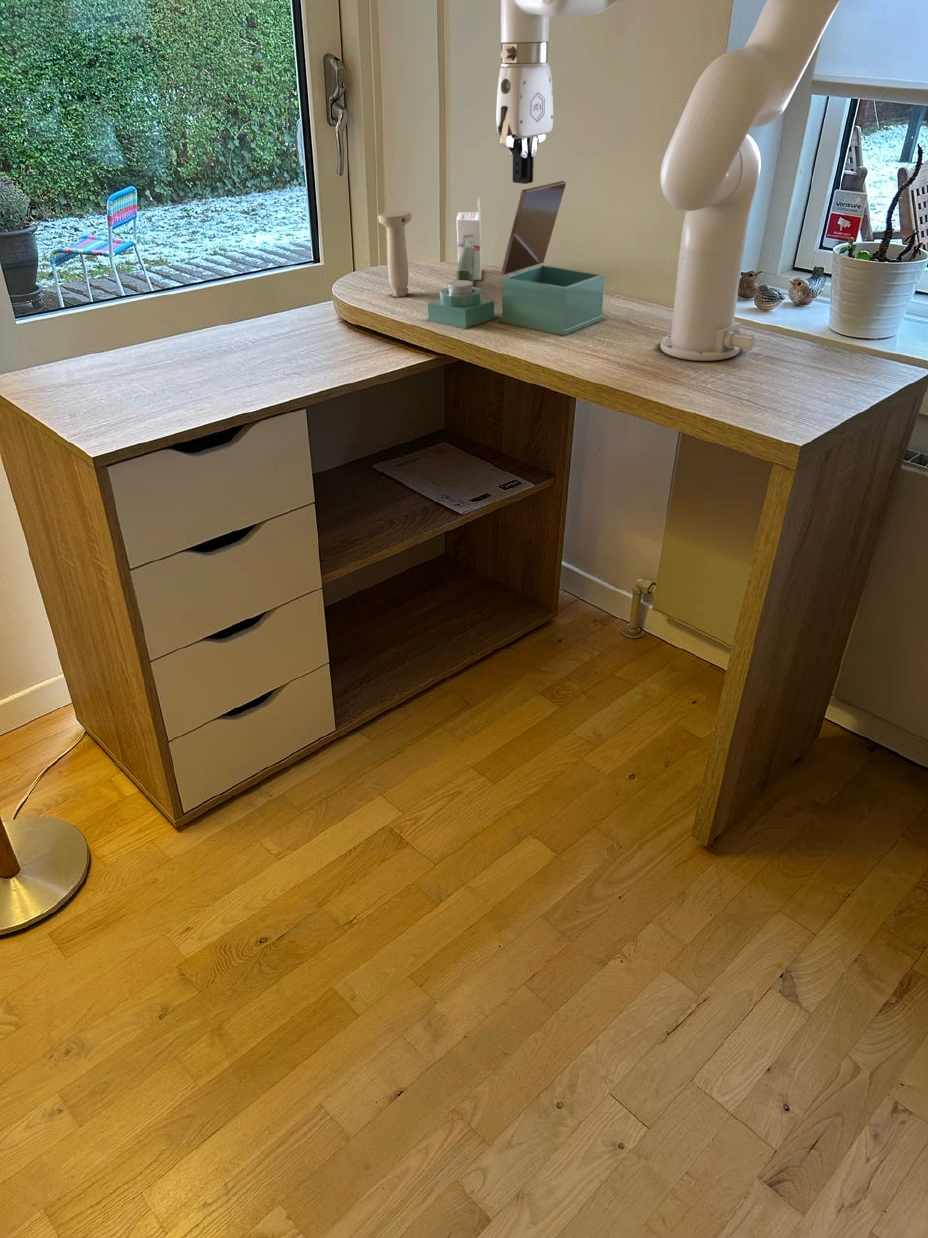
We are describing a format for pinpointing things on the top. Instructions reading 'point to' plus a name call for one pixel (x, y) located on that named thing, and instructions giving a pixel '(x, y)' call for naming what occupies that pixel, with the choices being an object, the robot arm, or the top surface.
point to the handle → (397, 250)
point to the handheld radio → (466, 265)
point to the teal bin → (552, 299)
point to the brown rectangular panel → (532, 226)
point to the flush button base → (461, 309)
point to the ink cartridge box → (470, 236)
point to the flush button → (460, 287)
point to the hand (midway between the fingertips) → (522, 182)
